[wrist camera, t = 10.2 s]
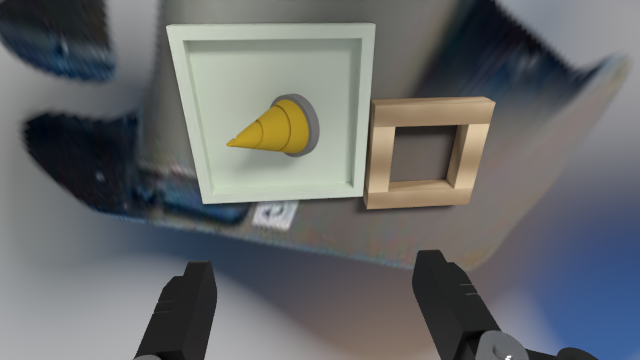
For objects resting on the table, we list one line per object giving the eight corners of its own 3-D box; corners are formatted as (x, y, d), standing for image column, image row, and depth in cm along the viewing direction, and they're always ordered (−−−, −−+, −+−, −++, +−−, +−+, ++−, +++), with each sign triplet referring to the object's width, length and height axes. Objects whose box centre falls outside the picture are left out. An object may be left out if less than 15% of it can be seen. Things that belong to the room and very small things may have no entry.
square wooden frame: (370, 99, 31) (375, 105, 29) (483, 96, 32) (495, 102, 30) (363, 198, 36) (367, 209, 35) (460, 194, 37) (468, 203, 35)
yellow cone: (310, 152, 33) (224, 186, 26) (290, 101, 33) (197, 122, 26) (349, 137, 29) (259, 171, 22) (327, 79, 29) (228, 96, 22)
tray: (173, 24, 26) (166, 26, 25) (370, 22, 28) (375, 24, 26) (206, 194, 34) (203, 203, 33) (359, 187, 36) (362, 196, 34)
